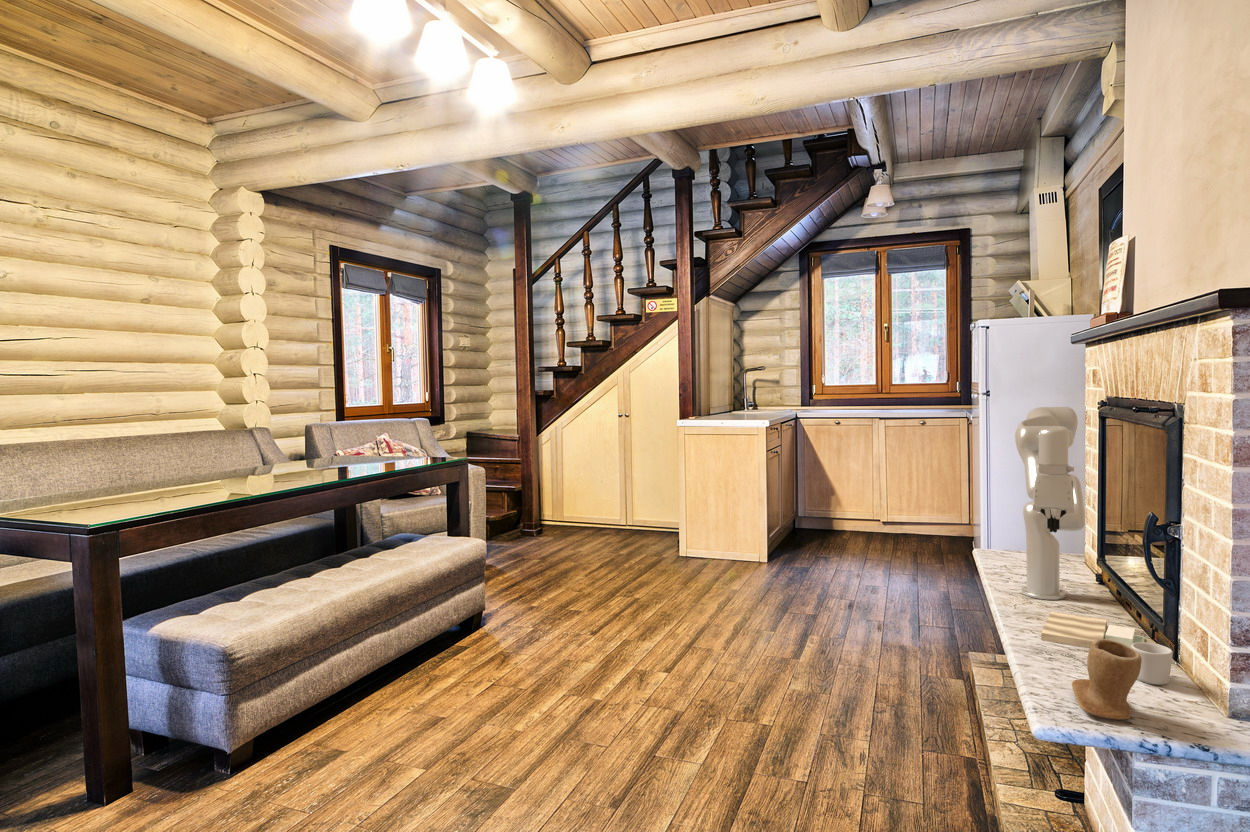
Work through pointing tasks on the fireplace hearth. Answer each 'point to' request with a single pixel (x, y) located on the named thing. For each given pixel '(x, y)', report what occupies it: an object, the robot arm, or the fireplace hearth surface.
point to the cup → (1154, 662)
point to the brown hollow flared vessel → (1108, 679)
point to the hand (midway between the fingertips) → (1053, 531)
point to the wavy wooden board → (1073, 629)
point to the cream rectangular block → (1120, 634)
